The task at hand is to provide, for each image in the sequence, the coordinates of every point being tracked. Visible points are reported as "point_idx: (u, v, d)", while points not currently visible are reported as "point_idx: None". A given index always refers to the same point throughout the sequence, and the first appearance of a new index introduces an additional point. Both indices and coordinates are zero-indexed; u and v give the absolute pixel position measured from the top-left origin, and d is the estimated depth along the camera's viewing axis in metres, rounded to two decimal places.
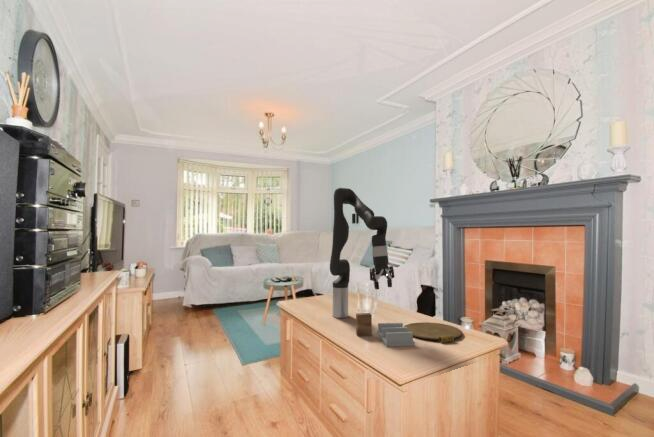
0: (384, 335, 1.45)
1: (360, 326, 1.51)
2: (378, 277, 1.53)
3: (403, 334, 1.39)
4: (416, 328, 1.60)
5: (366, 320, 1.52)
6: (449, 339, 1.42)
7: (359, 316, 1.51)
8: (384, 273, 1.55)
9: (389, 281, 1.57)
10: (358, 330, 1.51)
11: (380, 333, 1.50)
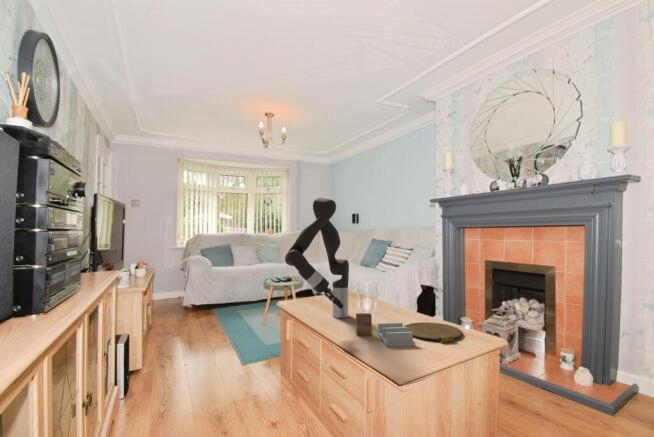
0: (384, 335, 1.45)
1: (360, 326, 1.51)
2: None
3: (403, 334, 1.39)
4: (416, 328, 1.60)
5: (366, 320, 1.52)
6: (449, 339, 1.42)
7: (359, 316, 1.51)
8: None
9: None
10: (358, 330, 1.51)
11: (380, 333, 1.50)
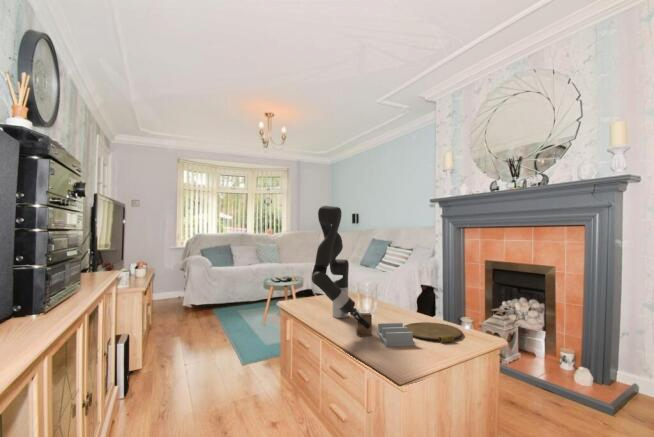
0: (384, 335, 1.45)
1: (360, 326, 1.51)
2: None
3: (403, 334, 1.39)
4: (416, 328, 1.60)
5: (366, 320, 1.52)
6: (449, 339, 1.42)
7: None
8: None
9: None
10: (358, 330, 1.51)
11: (380, 333, 1.50)
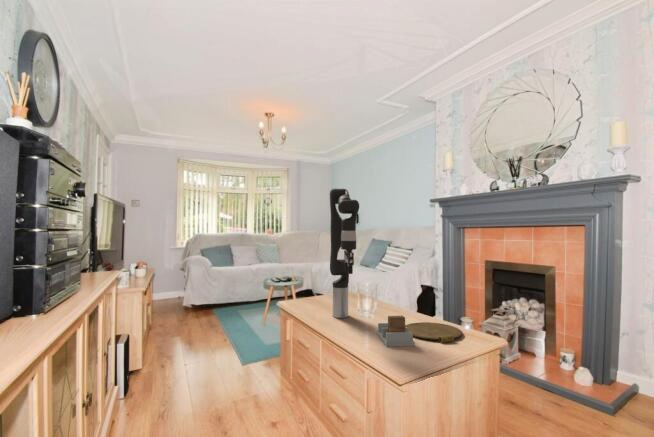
0: (384, 335, 1.45)
1: (393, 329, 1.41)
2: (345, 260, 1.59)
3: (403, 334, 1.39)
4: (416, 328, 1.60)
5: (399, 323, 1.42)
6: (449, 339, 1.42)
7: (392, 319, 1.41)
8: None
9: None
10: None
11: (380, 333, 1.50)
